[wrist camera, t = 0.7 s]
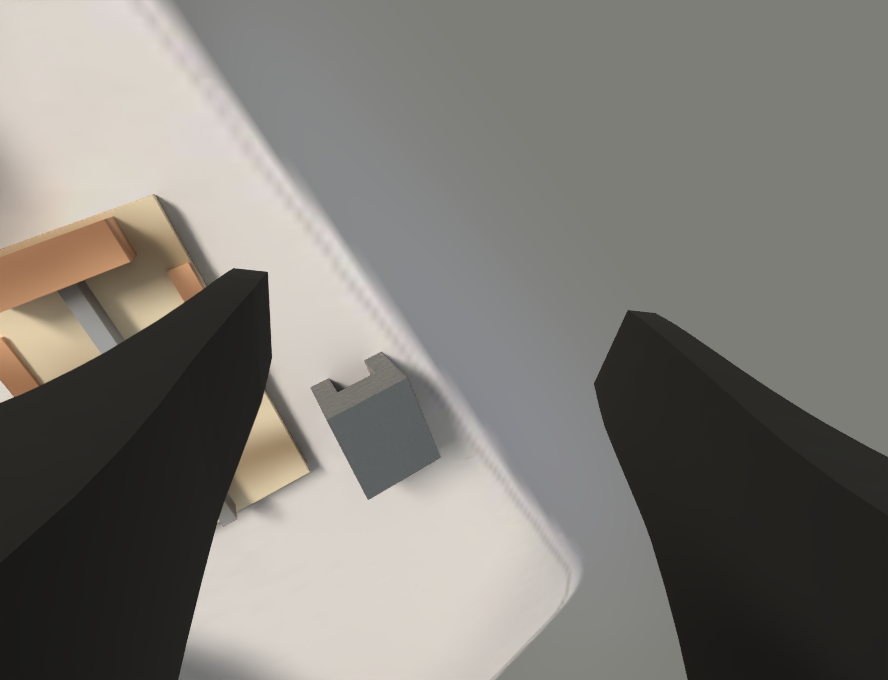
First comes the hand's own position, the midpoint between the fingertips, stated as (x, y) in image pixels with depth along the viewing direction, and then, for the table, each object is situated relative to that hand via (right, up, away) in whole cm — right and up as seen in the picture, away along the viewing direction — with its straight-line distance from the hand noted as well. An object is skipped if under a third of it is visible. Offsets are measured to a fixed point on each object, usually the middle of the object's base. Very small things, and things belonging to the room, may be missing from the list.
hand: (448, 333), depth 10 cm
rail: (-16, -3, +18) cm, 24 cm away
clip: (-5, -5, +23) cm, 24 cm away
